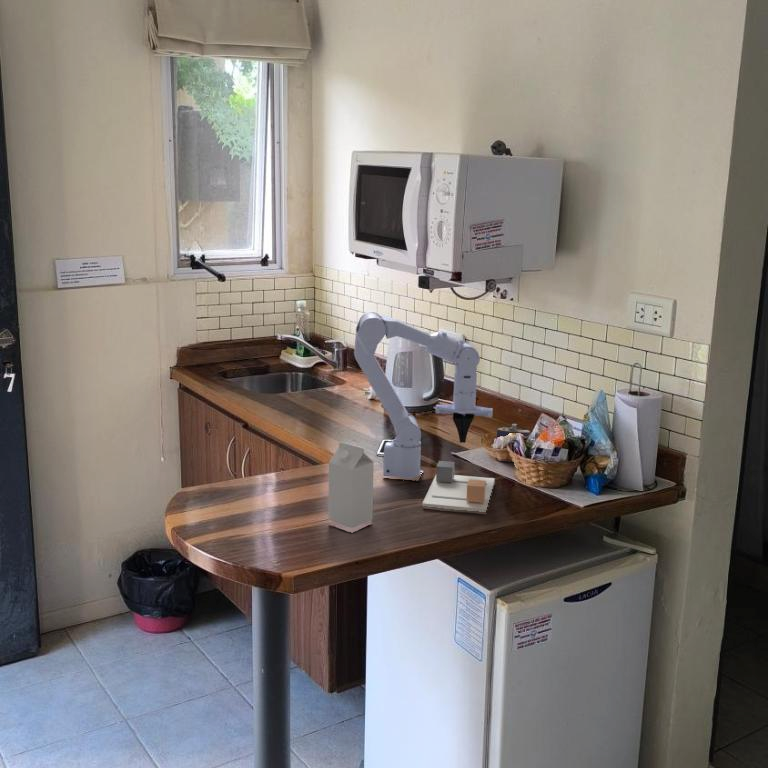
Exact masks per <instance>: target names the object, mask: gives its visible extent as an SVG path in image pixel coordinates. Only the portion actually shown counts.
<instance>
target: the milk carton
mask: <svg viewBox="0 0 768 768" xmlns="http://www.w3.org/2000/svg"><path fill="white" fill-rule="evenodd" d="M364 451H365V448H364V447H361V446H357V445H353V444H351V443H346V442H343V441H338V447H337V449H336V451H334V454H333V455H332V456H331V458H330V460H329V461H328V513H327V514H328V515H327V516H328V518H327V519H328V520H331V521H333V522H336V523H339V524H342V525H345V526H347V527H351V528H353V527H356V526H358V525H360V524H362V523H365V522H367V521H369V520H372V519H374V518H373V517H374V516H373V514H374V513H373V511H374V509H373V508H374V507H373V506H374V503H373V502H374V461H373V459H371V458H370V457H369V456H368V455H367V454H365V452H364Z"/></svg>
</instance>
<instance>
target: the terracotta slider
mask: <svg viewBox="0 0 768 768" xmlns="http://www.w3.org/2000/svg"><path fill="white" fill-rule="evenodd" d="M485 490H486V481H483V480H472V479H469V481H468V484H467V499H466V501H468V502H479V503H483V502H484V499H485Z"/></svg>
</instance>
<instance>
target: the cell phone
mask: <svg viewBox="0 0 768 768" xmlns="http://www.w3.org/2000/svg"><path fill="white" fill-rule="evenodd" d="M393 440H394V439H390V438H383V439H381V442H380V444H379V447H378V448H377V451H376V453H375V455H376V454H378V455H384V447H385V444H386V442H393Z"/></svg>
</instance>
